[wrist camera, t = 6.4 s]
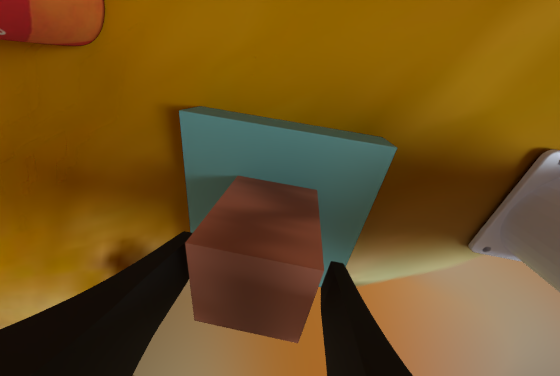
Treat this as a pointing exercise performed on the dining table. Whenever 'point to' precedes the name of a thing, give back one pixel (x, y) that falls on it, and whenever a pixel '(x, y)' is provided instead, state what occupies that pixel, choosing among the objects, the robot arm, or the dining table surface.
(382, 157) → the teal base board
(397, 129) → the dining table surface
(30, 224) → the dining table surface
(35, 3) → the paper cup
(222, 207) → the red wood block
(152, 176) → the dining table surface
